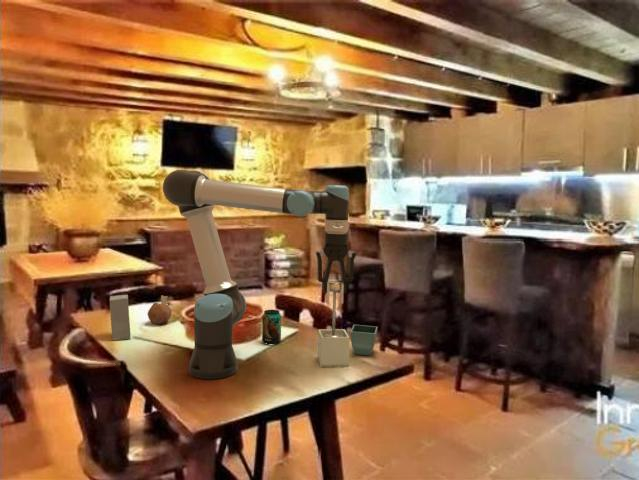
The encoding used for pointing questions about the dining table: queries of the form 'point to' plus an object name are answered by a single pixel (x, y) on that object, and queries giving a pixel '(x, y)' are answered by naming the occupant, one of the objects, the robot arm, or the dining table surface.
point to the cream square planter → (333, 349)
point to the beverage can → (271, 327)
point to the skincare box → (120, 317)
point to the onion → (159, 313)
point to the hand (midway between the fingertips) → (334, 302)
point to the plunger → (334, 309)
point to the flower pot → (363, 339)
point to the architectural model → (165, 301)
